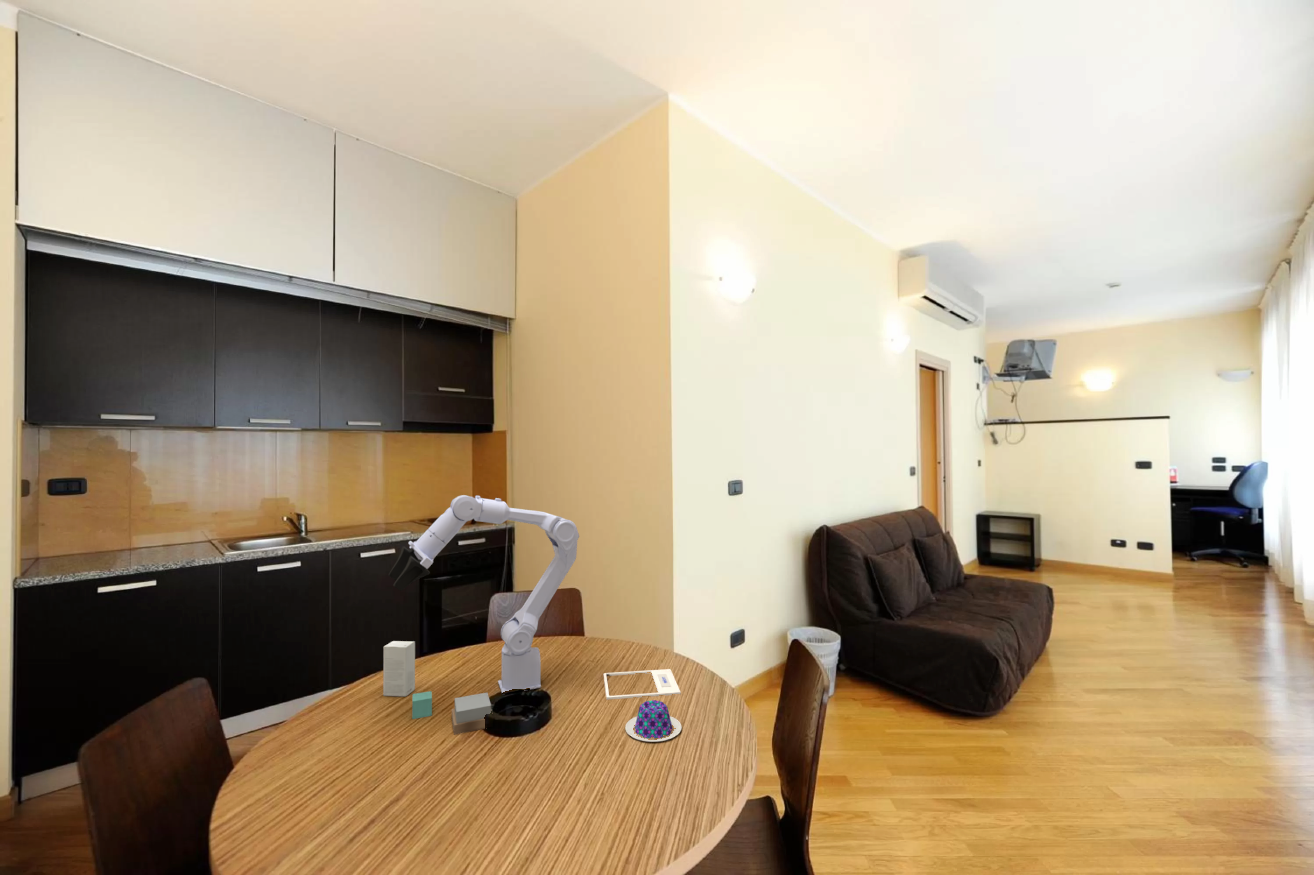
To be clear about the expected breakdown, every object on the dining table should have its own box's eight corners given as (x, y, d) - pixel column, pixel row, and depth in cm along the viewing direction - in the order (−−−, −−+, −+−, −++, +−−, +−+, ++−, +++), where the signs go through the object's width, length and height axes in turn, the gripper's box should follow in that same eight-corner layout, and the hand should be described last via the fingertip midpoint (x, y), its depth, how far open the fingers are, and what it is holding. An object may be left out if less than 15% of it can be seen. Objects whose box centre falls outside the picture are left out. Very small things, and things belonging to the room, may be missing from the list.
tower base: (489, 713, 125) (489, 702, 125) (493, 729, 118) (493, 717, 118) (451, 720, 122) (451, 709, 122) (454, 737, 115) (454, 725, 115)
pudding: (616, 724, 119) (616, 699, 119) (665, 712, 125) (665, 688, 125) (639, 750, 109) (639, 724, 109) (692, 736, 114) (691, 710, 114)
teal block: (431, 708, 127) (431, 690, 127) (431, 716, 123) (431, 697, 123) (412, 711, 125) (412, 694, 125) (412, 719, 121) (412, 701, 121)
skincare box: (415, 689, 137) (415, 641, 137) (406, 697, 132) (406, 647, 133) (392, 688, 137) (392, 640, 138) (382, 696, 133) (382, 646, 133)
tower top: (487, 703, 124) (487, 692, 125) (491, 717, 118) (491, 705, 118) (454, 709, 122) (454, 698, 122) (456, 723, 115) (456, 711, 115)
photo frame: (680, 691, 133) (606, 696, 131) (680, 696, 133) (606, 701, 131) (670, 668, 148) (603, 672, 145) (670, 672, 148) (603, 676, 145)
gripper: (418, 519, 135) (376, 563, 131) (430, 534, 123) (385, 583, 119) (440, 536, 139) (399, 580, 134) (454, 552, 127) (410, 600, 122)
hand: (394, 582), depth 127 cm, fingers open, 7 cm apart
